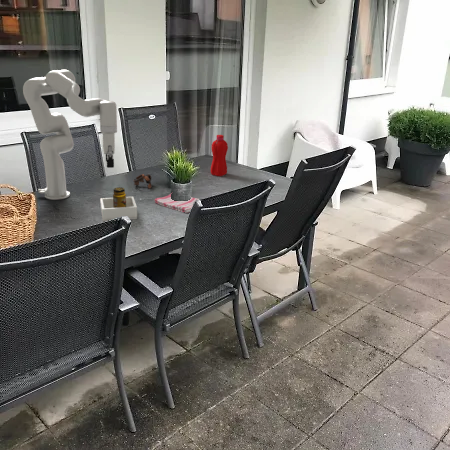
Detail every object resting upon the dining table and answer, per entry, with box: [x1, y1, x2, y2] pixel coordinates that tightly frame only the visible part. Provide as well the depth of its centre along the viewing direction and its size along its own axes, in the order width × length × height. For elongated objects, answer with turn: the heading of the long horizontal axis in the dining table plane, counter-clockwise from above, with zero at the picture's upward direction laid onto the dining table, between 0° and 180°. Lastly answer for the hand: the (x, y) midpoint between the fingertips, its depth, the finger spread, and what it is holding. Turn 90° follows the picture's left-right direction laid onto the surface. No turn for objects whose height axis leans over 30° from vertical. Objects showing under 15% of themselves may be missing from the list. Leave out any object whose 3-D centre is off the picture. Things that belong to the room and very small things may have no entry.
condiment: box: [112, 186, 127, 208], centre depth 227 cm, size 7×8×12 cm
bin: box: [99, 196, 138, 222], centre depth 228 cm, size 16×15×6 cm
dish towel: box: [154, 193, 200, 214], centre depth 246 cm, size 17×23×4 cm
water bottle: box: [210, 134, 229, 177], centre depth 291 cm, size 9×11×25 cm
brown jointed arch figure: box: [132, 173, 153, 190], centre depth 269 cm, size 12×10×8 cm
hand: (109, 164), depth 225 cm, fingers open, 9 cm apart
